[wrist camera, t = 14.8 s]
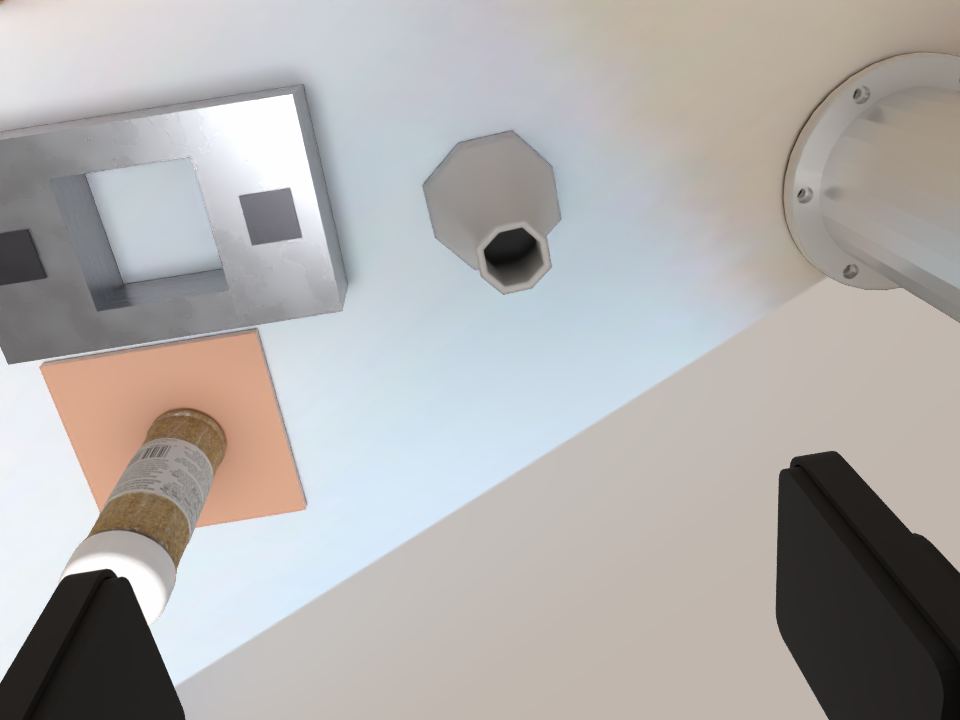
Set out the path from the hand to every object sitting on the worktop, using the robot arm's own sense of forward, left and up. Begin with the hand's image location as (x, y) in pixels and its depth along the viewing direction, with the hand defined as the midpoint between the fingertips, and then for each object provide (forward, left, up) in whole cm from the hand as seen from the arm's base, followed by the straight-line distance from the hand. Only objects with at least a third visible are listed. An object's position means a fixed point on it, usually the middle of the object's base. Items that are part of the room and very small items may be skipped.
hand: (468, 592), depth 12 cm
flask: (-3, +3, -34) cm, 34 cm away
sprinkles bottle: (+16, +14, -33) cm, 39 cm away
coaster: (+17, +14, -33) cm, 40 cm away
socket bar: (+14, +1, -33) cm, 36 cm away
